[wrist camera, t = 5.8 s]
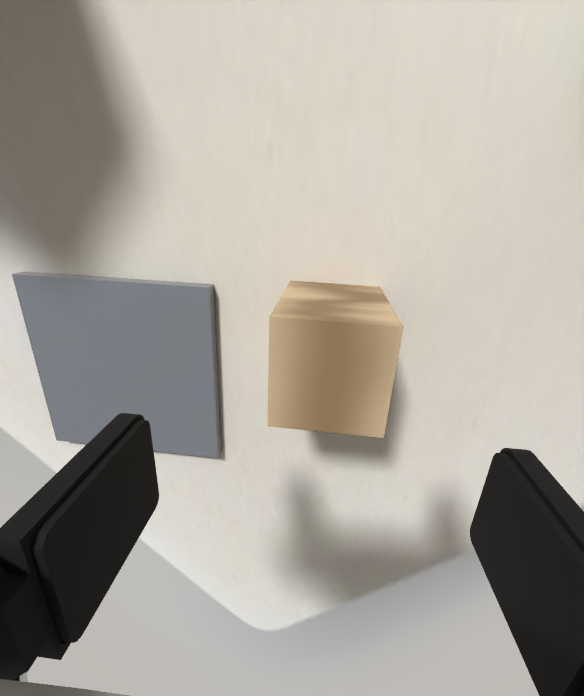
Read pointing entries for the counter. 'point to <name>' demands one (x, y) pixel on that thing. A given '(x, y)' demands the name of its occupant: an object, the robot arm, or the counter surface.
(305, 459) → the counter surface
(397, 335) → the oak block
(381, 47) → the counter surface
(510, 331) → the counter surface
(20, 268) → the counter surface
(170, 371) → the slate tile
